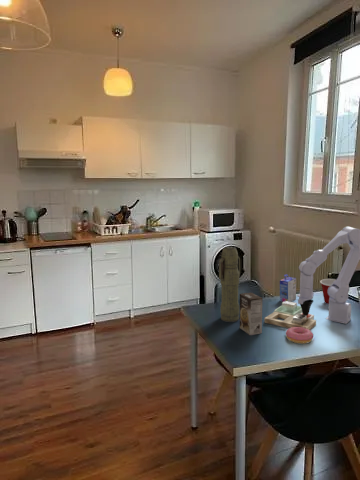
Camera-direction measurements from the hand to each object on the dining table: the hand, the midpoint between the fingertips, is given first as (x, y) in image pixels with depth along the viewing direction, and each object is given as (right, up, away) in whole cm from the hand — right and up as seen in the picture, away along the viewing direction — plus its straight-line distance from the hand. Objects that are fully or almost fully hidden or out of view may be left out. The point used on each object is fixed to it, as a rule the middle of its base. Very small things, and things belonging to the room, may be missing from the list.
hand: (305, 314), depth 172 cm
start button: (0, -2, 0) cm, 2 cm away
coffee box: (-28, -5, -11) cm, 31 cm away
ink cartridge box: (0, +2, +30) cm, 30 cm away
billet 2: (-5, -4, -8) cm, 10 cm away
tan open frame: (-9, -3, -5) cm, 11 cm away
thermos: (-35, -3, +4) cm, 36 cm away
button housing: (0, -2, 0) cm, 2 cm away
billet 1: (-5, -1, +9) cm, 10 cm away
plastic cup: (+21, +1, +24) cm, 32 cm away
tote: (-5, -1, +9) cm, 10 cm away
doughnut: (-10, -6, -21) cm, 24 cm away
